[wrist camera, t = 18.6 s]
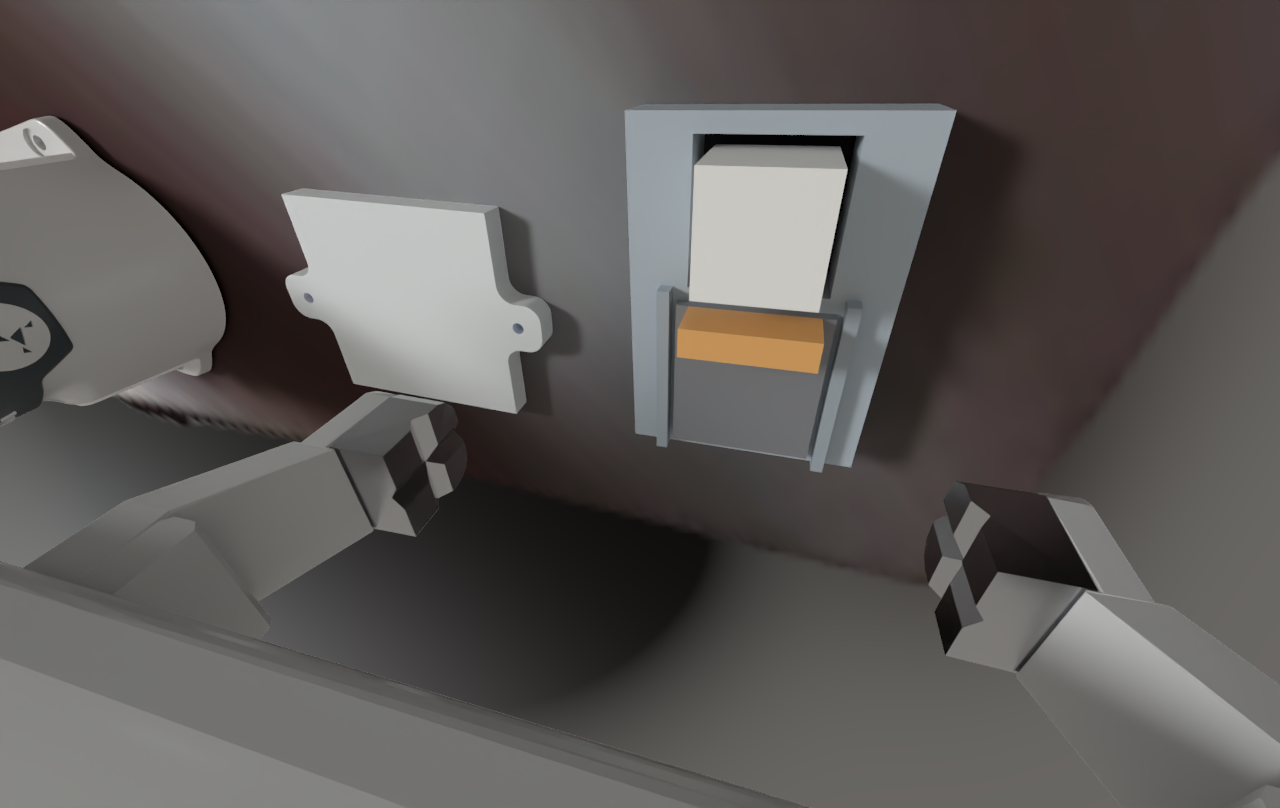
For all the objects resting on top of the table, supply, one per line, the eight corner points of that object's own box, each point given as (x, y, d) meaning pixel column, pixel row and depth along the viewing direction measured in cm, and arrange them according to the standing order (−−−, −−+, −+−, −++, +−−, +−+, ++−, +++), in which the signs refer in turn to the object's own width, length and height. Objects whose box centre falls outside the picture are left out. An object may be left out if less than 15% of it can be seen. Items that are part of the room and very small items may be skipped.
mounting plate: (343, 365, 38) (324, 378, 37) (274, 184, 31) (246, 190, 29) (562, 404, 34) (551, 420, 33) (544, 208, 27) (528, 217, 25)
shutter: (675, 431, 28) (662, 465, 26) (678, 300, 24) (664, 327, 22) (806, 451, 27) (805, 490, 24) (836, 314, 22) (840, 345, 20)
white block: (713, 250, 25) (688, 300, 20) (720, 139, 22) (694, 165, 17) (817, 257, 24) (819, 312, 19) (838, 141, 21) (847, 169, 16)
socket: (648, 405, 32) (631, 441, 29) (644, 104, 22) (618, 112, 19) (847, 433, 29) (851, 477, 26) (939, 103, 20) (962, 112, 17)
